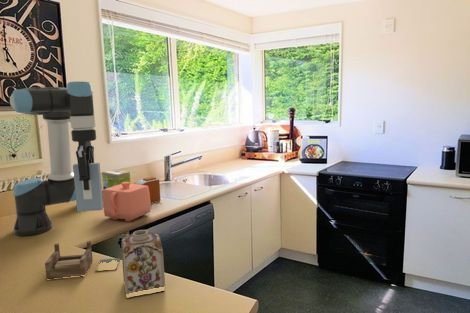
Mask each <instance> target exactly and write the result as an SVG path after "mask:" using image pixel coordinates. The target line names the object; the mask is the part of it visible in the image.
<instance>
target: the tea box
mask: <svg viewBox="0 0 470 313" xmlns="http://www.w3.org/2000/svg"><path fill="white" fill-rule="evenodd" d="M101 179H102V188H103V189H102V191H103V190H104V189H106V188H110V187H113V186H116V185H119V184H121V183H123V182H130V183H131V172H130V171H125V170H119V169H112V170H111V169H110V170H107V171H102V172H101Z"/></svg>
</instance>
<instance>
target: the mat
mask: <svg viewBox="0 0 470 313" xmlns="http://www.w3.org/2000/svg"><path fill="white" fill-rule="evenodd" d="M112 260H115V261H116V260H117V262H119V263H120V261H121V258H120V257H117V258H116V257H115V258H105V259H100V260H99V262H100V263H101V262H102V263H103V262H106V263H109V262H111V261H112ZM99 262H98V264H100V263H99Z"/></svg>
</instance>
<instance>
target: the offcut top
mask: <svg viewBox="0 0 470 313" xmlns="http://www.w3.org/2000/svg"><path fill="white" fill-rule="evenodd" d="M69 267H80V259H76V260H65V261H58V262H57V263H56V265H55V269H57V268H69Z"/></svg>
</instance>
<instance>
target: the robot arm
mask: <svg viewBox="0 0 470 313" xmlns="http://www.w3.org/2000/svg"><path fill="white" fill-rule="evenodd" d="M93 94H94V91H93V88H92V83H91V82H89V81H68V82H67V83H66V87H59V86H58V87H57V86H55V87H54V86H52V87H49V86H48V87H47V86H46V87H26V88H20V89H14V90H13V91H12V93H11V95H10V97H9V105H10V107H11V109H13V110H14V111H15V112H16V113H19V114H23V115H24V114H25V115H30V116H42V119H43V120H44V121H45V122H46V124H47V138H48V149H49V150H48V151H49V162H50V173H49V174H48V175H47V180H45V179H43V178H42V177H33V178H28V179H24V180H21V181H19V182H17V183H16V184H14V186H13V196H14V202H15V203H14V204H15V213H16V218H15V222H14V226H13V233H14V235H15V236H18V237H27V236H35V235H40V234H43V233H45V232H48V231H49V230H51V229H52V227H53V226H52V221H51V219H50V218H49V215H48V213H47V211H46V210H47V209H46V206H47V207H48V206H51V205H52V206H53V205H60V204H68V203H70V202H76V193H75V183H74V172H73V171H72V161H71V144H70V143H71V142H70V141H71V140H72V142H75V143H76V142H78V145H77V148H76V151H75V156H76V159H77V164H78V169H79V177H80V179H79V181H82V185H83V196H84V199H93V196H92V185H91V180H90V170H89V163H95V154H94V151H95V147H94V145H92V143H91V142H93V141H96V140H97V133H96V129H95V128H96V119H95V111H94V110H95V108H94V97H93ZM69 123H70V126H69ZM69 127H70V128H71V129H72V130H71V131H70V130H69V129H70V128H69ZM70 134H71V140H70Z"/></svg>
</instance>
